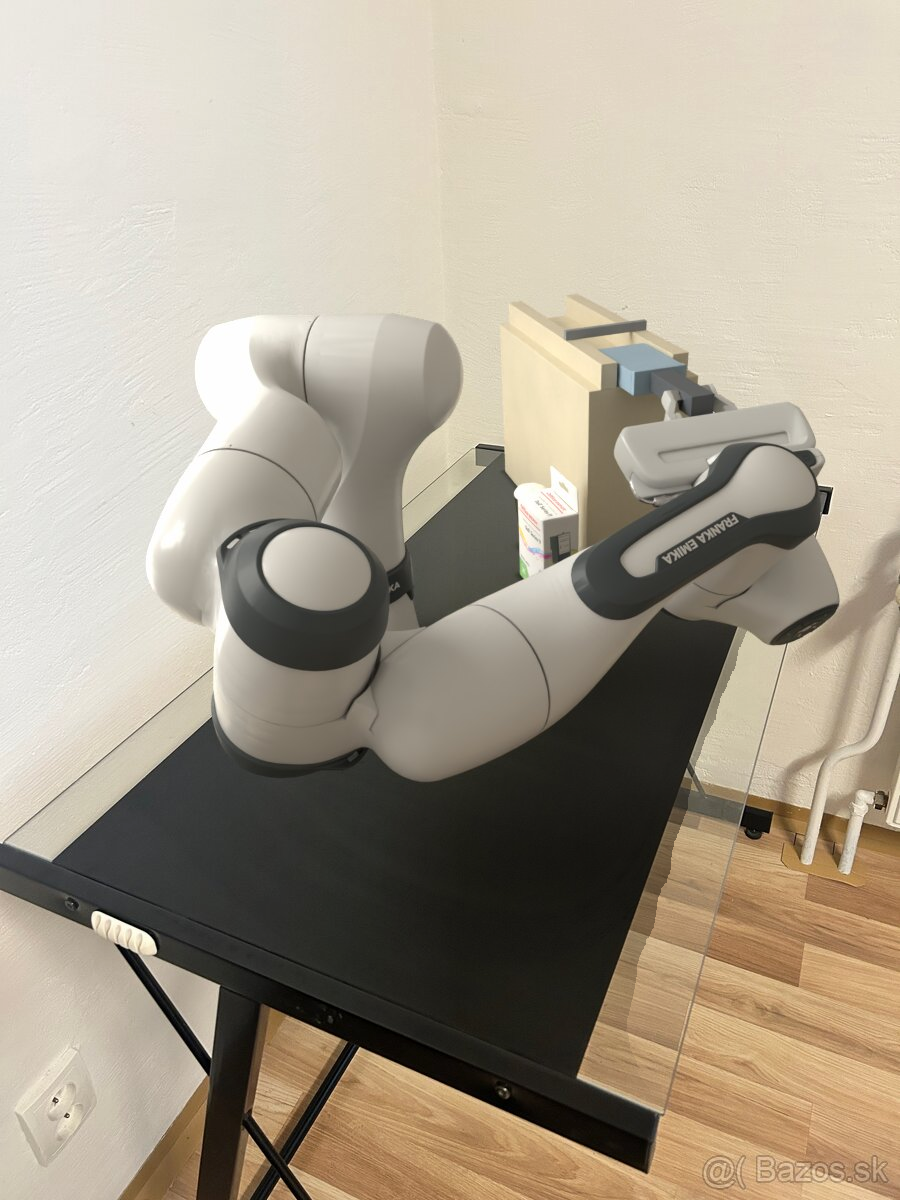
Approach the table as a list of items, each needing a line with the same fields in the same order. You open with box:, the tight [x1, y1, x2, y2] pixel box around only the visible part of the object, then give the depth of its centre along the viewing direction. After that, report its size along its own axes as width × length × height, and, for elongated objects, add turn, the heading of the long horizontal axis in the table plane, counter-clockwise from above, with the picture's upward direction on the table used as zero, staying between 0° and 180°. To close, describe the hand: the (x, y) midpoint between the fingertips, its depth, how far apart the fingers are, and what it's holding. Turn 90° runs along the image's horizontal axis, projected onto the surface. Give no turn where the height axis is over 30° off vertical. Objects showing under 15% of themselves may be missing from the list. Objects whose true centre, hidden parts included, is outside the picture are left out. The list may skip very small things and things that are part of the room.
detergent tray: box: [597, 343, 715, 417], centre depth 101 cm, size 6×21×3 cm, turn 14°
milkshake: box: [513, 483, 552, 530], centre depth 120 cm, size 4×5×10 cm
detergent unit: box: [499, 293, 699, 552], centre depth 125 cm, size 14×36×28 cm, turn 14°
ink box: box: [518, 466, 579, 580], centre depth 109 cm, size 9×5×15 cm, turn 17°
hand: (686, 391), depth 95 cm, fingers closed on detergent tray, 3 cm apart
